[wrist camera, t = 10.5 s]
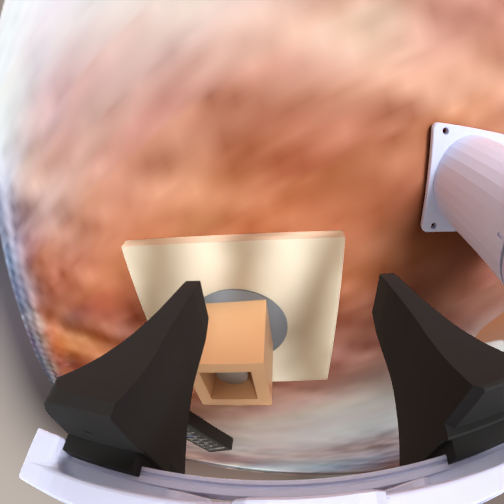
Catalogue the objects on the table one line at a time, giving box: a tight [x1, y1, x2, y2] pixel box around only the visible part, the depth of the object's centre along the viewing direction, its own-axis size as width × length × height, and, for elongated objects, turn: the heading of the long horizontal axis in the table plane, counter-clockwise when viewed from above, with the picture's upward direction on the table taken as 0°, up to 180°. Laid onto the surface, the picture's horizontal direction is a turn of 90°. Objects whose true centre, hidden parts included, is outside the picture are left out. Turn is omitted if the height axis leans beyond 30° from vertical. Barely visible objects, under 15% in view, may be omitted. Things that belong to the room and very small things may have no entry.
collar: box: [193, 300, 273, 405], centre depth 22 cm, size 5×5×6 cm
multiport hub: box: [187, 411, 233, 452], centre depth 36 cm, size 4×14×2 cm, turn 33°
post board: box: [122, 230, 345, 384], centre depth 23 cm, size 16×16×6 cm
